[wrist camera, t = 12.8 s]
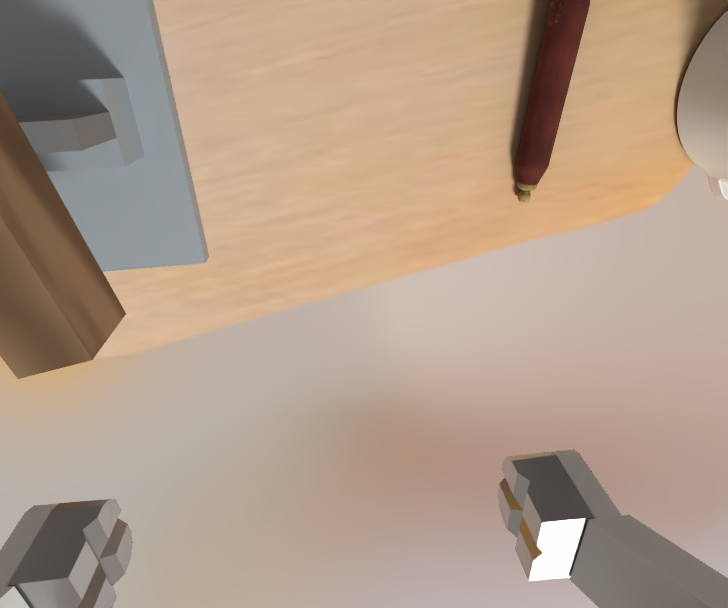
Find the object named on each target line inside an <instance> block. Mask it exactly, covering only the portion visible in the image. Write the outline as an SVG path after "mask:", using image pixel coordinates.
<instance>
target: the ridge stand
mask: <svg viewBox="0 0 728 608" xmlns="http://www.w3.org/2000/svg"><path fill="white" fill-rule="evenodd" d="M0 90H1V92H2V94H3V96H4V98H5V99H6V101H7V103H8V105H9V106H10V108H11V110H12V112H13V114H14V115H15V117H16V119H17V121H18V123H19V124H20V126H21V128H22V130H23V131H24V133H25V135H26V137H27V139H28V140H29V142H30V144H31V146H32V147H33V149H34V151H35V153H36V155H37V156H38V158H39V160H40V162H41V163H42V165H43V167H44V169H45V171H46V172H47V174H48V176H49V178H50V179H51V181H52V183H53V185H54V187H55V188H56V190H57V192H58V194H59V195H60V197H61V199H62V201H63V203H64V204H65V206H66V208H67V210H68V211H69V213H70V215H71V217H72V219H73V220H74V222H75V224H76V226H77V227H78V229H79V231H80V233H81V235H82V236H83V238H84V240H85V242H86V243H87V245H88V247H89V249H90V251H91V252H92V254H93V256H94V258H95V259H96V261H97V263H98V265H99V267H100V268H101V270H102V272H103V271H115V270H127V269H139V268H152V267H164V266H176V265H188V264H200V263H206V261H207V259H208V257H209V254H208V250H207V245H206V241H205V236H204V232H203V227H202V222H201V218H200V213H199V209H198V204H197V200H196V195H195V191H194V186H193V182H192V177H191V172H190V168H189V163H188V159H187V154H186V150H185V145H184V141H183V136H182V131H181V127H180V122H179V118H178V113H177V109H176V104H175V100H174V95H173V91H172V86H171V81H170V77H169V72H168V68H167V63H166V59H165V54H164V50H163V45H162V41H161V36H160V31H159V27H158V22H157V18H156V13H155V9H154V4H153V0H0Z"/></svg>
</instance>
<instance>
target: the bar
mask: <svg viewBox="0 0 728 608" xmlns="http://www.w3.org/2000/svg"><path fill="white" fill-rule="evenodd" d="M125 314H126V313H125V311H124V309H123V308H122V306H121V304H120V302H119V300H118V299H117V297H116V295H115V293H114V292H113V290H112V288H111V286H110V284H109V283H108V281H107V279H106V277H105V276H104V274H103V272H102V270H101V268H100V267H99V265H98V263H97V261H96V259H95V258H94V256H93V254H92V252H91V251H90V249H89V247H88V245H87V243H86V242H85V240H84V238H83V236H82V235H81V233H80V231H79V229H78V227H77V226H76V224H75V222H74V220H73V219H72V217H71V215H70V213H69V211H68V210H67V208H66V206H65V204H64V203H63V201H62V199H61V197H60V195H59V194H58V192H57V190H56V188H55V187H54V185H53V183H52V181H51V179H50V178H49V176H48V174H47V172H46V171H45V169H44V167H43V165H42V163H41V162H40V160H39V158H38V156H37V155H36V153H35V151H34V149H33V147H32V146H31V144H30V142H29V140H28V139H27V137H26V135H25V133H24V131H23V130H22V128H21V126H20V124H19V123H18V121H17V119H16V117H15V115H14V114H13V112H12V110H11V108H10V106H9V105H8V103H7V101H6V99H5V98H4V96H3V94H2V92H1V90H0V356H1V357H2V359H3V360H4V361H5V363H6V364H7V365H8V367H9V368H10V369H11V370H12V372H13V373H14V374H15V376H16V377H17V378H18V379H19V378H23V377H27V376H31V375H35V374H39V373H43V372H47V371H51V370H55V369H59V368H63V367H66V366H70V365H74V364H78V363H82V362H86V361H90V360H93V358H94V357H95V355H96V354H97V353H98V351H99V350H100V349H101V347H102V346H103V345H104V343H105V342H106V340H107V339H108V338H109V336H110V335H111V334H112V332H113V331H114V329H115V328H116V327H117V325H118V324H119V323H120V321H121V320H122V318H123V317H124V316H125Z"/></svg>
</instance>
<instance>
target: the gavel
mask: <svg viewBox="0 0 728 608" xmlns="http://www.w3.org/2000/svg"><path fill="white" fill-rule="evenodd" d="M589 5H590V0H552V2H551V5H550V9H549V13H548V18H547V22H546V27H545V31H544V36H543V41H542V45H541V50H540V54H539V59H538V63H537V68H536V73H535V77H534V82H533V86H532V91H531V95H530V100H529V105H528V109H527V114H526V118H525V123H524V127H523V132H522V137H521V141H520V146H519V150H518V155H517V159H516V169H517V178H518V183H517V186H518V188H520V189H521V192H520V193H519V194H518V200H519V201H520V202H528V201H529V200H530V197H531V194H530V191H532V190H535V189H536V187H537V184H538V182H539V181H540V179H541V177H542V176H543V174H544V173H545V171H546V170H547V168H548V165H549V161H550V158H551V154H552V150H553V146H554V142H555V138H556V134H557V130H558V126H559V123H560V119H561V115H562V111H563V107H564V103H565V99H566V95H567V91H568V88H569V84H570V80H571V76H572V72H573V68H574V64H575V60H576V56H577V53H578V49H579V45H580V41H581V37H582V33H583V29H584V25H585V21H586V18H587V14H588V10H589Z"/></svg>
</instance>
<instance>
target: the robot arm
mask: <svg viewBox="0 0 728 608" xmlns="http://www.w3.org/2000/svg"><path fill="white" fill-rule="evenodd" d="M677 126H678V133H679V137H680V141H681V143H682V146H683V148H684V150H685V152H686V153H687V155H688V156H689V158H690V159H691V160H692V161H693V162H694V163H695V164H696V165H698V166H699V167H700V168H701V169H702V170H703V171H704V172H705V173H706V174H707V176H708V179H709V183H710V187H711V189H712V192H713V194H714V196H715V197H716V198H718V199H721V200H727V201H728V10H727V11H726V12H725V13H724V14H723V15H722V16H721V17H720V18H719V20H718V21H717V22H716V23H715V24H714V26H713V27H712V28H711V29H710V31H709V32H708V33H707V35H706V36H705V38H704V39H703V41H702V42H701V44H700V45H699V47H698V49H697V50H696V52H695V54H694V56H693V58H692V60H691V62H690V64H689V67H688V69H687V71H686V74H685V77H684V80H683V83H682V86H681V90H680V94H679V100H678V108H677ZM502 471H503V474H504V475H505V479H503V481H502V482H500V483H499V491H498V497H499V506H500V510H501V514H502V518H503V520H504V523H505V525H506V528H507V529H508V530H509V531H510V532H511V533H513V534H514V535H515V536H516V537H518V538H517V543H516V549H515V550H516V552H517V554H518V556H519V559H520V561H521V564H522V566H523V569H524V571H525V573H526V576H527V578H528V580H529V581H533V580H544V579H555V578H565V577H570V580H571V581H572V582H573V583H574V584H575V585H576V586H577V587H578V588H579V589H580V590H581V591H582V592H583V593H584V594H585V595H586V596H587V597H589V598H590V599H591V600H592V601H593V602H594V603H595V604H596V605H597V606H598V607H599V608H728V578H726V577H725V576H723V575H722V574H720V573H718V572H717V571H715V570H714V569H713V568H711V567H709V566H708V565H706V564H705V563H703V562H702V561H700V560H699V559H697V558H695V557H694V556H692V555H691V554H689V553H688V552H686V551H685V550H683V549H681V548H680V547H678V546H677V545H675V544H674V543H672V542H671V541H669V540H668V539H666V538H664V537H663V536H661V535H660V534H658V533H656V532H655V531H653V530H652V529H650V528H649V527H647V526H646V525H644V524H643V523H641V522H640V521H638V520H636V519H635V518H633V517H632V516H630V515H621V513H620V512H619V511H618V509H617V507H616V506H615V504H614V503H613V502H612V500H611V499H610V497H609V496H608V494H607V493H606V491H605V490H604V489H603V487H602V486H601V484H600V483H599V482H598V480H597V478H596V477H595V476H594V474H593V473H592V471H591V470H590V468H589V467H588V465H587V464H586V463H585V461H584V460H583V458H582V457H581V455H580V454H579V453H578V452H577V451H575V450H566V451H556V452H544V453H535V454H527V455H518V456H510V457H506V458H505V459H504V460H503V464H502ZM120 512H121V509H120V507H119V505H118V503H117V501H116V499H108V500H95V501H84V502H83V501H82V502H70V503H59V504H48V505H37V506H33V507H32V508H30V509H29V510H28V511H27V512H26V513H25V514H24V515H23V516H22V518H21V520H20V521H19V523H18V524H17V526H16V527H15V529H14V530H13V532H12V533H11V535H10V537H9V538H8V540H7V541H6V542H5V544H4V546H3V547H2V549H1V550H0V608H112V607H113V605H114V602H115V599H116V594H115V591H114V588H113V585H114V584H115V583H116V582H117V581H118V580H119V579H120V578H121V577H122V576H123V575H124V574H125V573H126V570H127V567H128V564H129V561H130V557H131V551H132V543H133V542H132V535H131V530H130V528H129V526H128V524H127V523H125V522H123V521H122V520H120V519H118V516H119V514H120Z"/></svg>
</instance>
